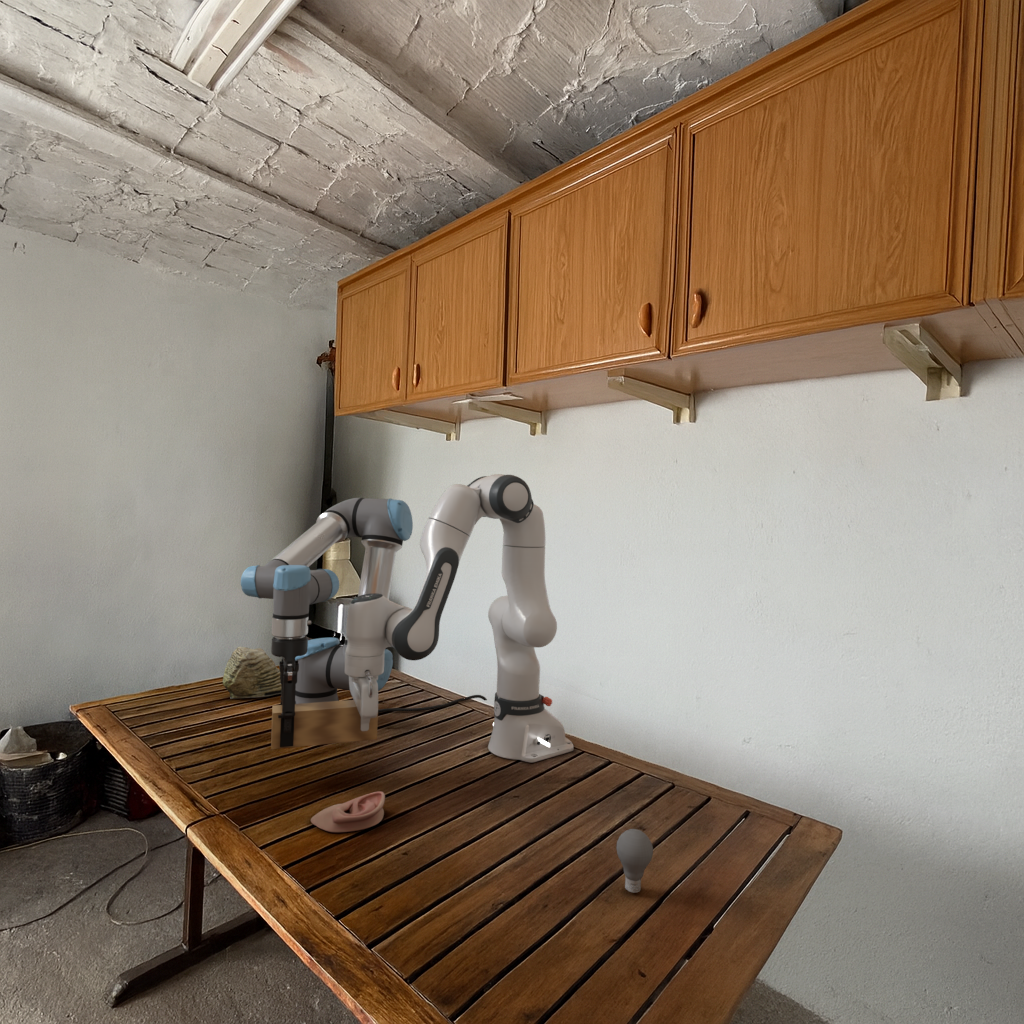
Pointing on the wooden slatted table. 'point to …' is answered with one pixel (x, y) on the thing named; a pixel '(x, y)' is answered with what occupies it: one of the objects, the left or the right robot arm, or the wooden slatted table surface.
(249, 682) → the fossil
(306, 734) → the bar
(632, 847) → the light bulb
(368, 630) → the right robot arm
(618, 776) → the wooden slatted table surface
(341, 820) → the anatomical model
